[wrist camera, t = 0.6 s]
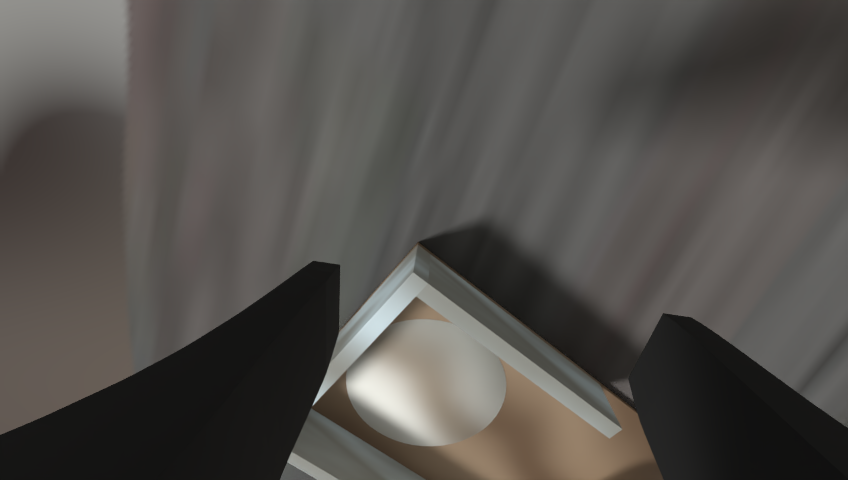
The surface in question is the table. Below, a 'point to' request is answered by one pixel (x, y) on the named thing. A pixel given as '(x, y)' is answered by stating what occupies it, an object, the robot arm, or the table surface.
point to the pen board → (460, 394)
